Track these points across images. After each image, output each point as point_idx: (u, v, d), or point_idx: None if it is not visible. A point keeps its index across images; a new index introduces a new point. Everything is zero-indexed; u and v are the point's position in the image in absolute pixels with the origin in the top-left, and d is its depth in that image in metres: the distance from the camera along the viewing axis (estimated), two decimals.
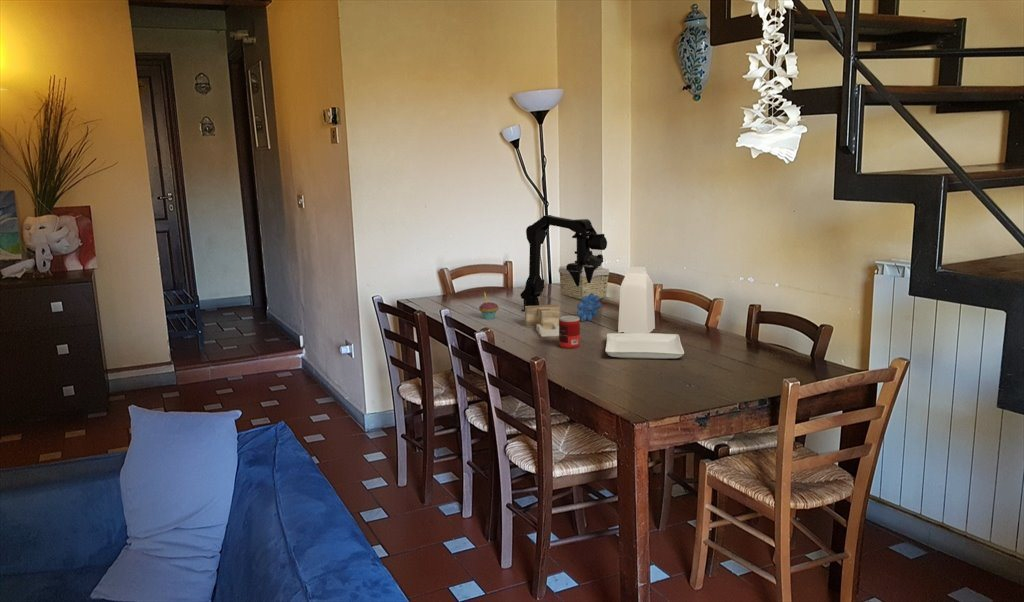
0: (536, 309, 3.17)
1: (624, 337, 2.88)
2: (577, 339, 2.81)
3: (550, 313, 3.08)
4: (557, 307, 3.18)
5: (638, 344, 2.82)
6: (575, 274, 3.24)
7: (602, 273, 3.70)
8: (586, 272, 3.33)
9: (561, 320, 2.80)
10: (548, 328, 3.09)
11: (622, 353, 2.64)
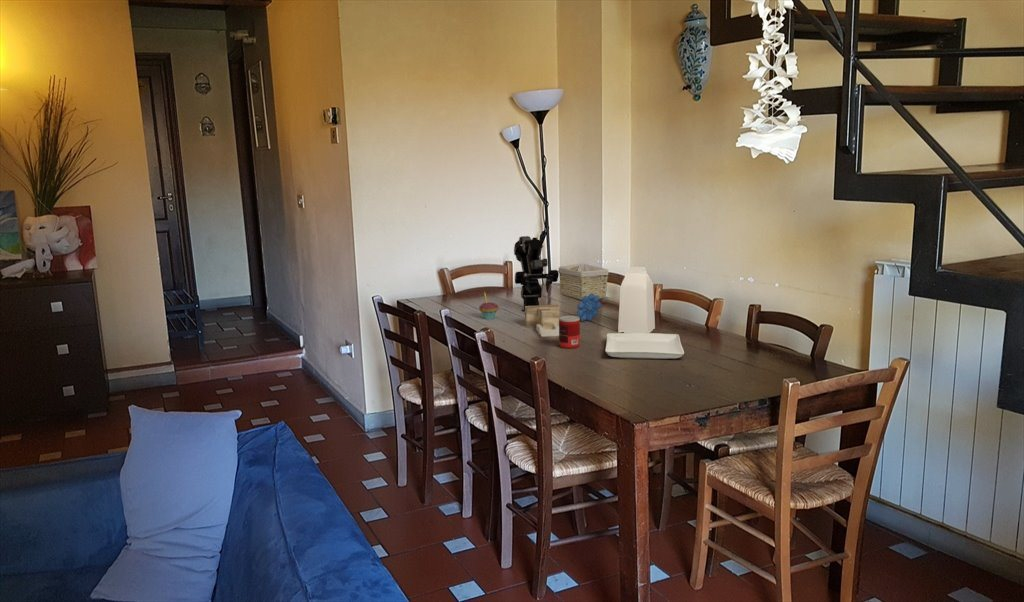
0: (536, 309, 3.17)
1: (624, 337, 2.88)
2: (577, 339, 2.81)
3: (550, 313, 3.08)
4: (557, 307, 3.18)
5: (638, 344, 2.82)
6: (526, 283, 3.28)
7: (601, 273, 3.70)
8: (546, 285, 3.29)
9: (561, 320, 2.80)
10: (548, 328, 3.09)
11: (622, 353, 2.64)
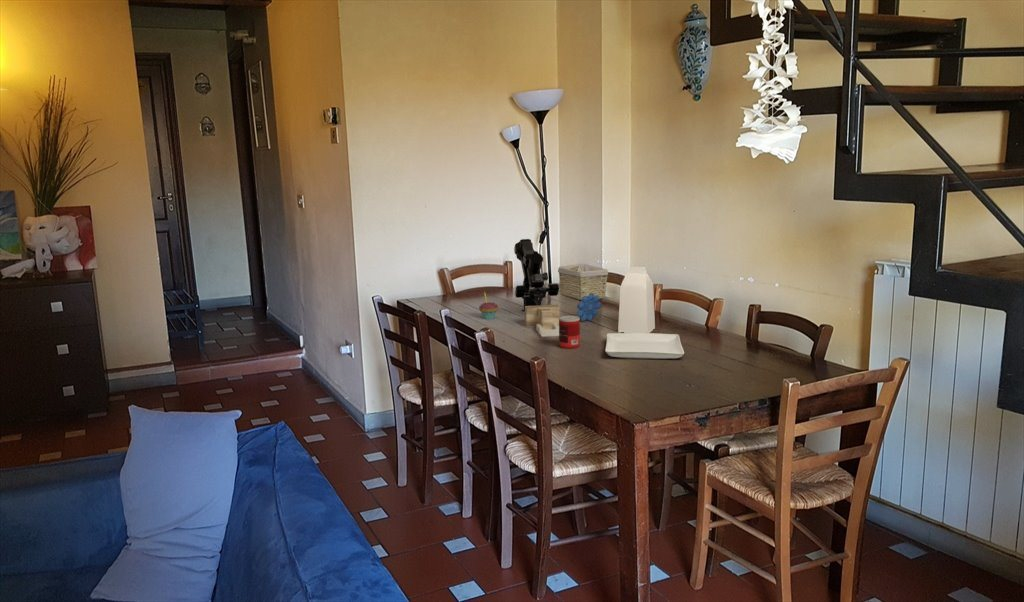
0: (536, 309, 3.17)
1: (624, 337, 2.88)
2: (577, 339, 2.81)
3: (550, 313, 3.08)
4: (557, 307, 3.18)
5: (638, 344, 2.82)
6: (534, 297, 3.28)
7: (601, 273, 3.69)
8: None
9: (561, 320, 2.80)
10: (548, 328, 3.09)
11: (622, 353, 2.64)
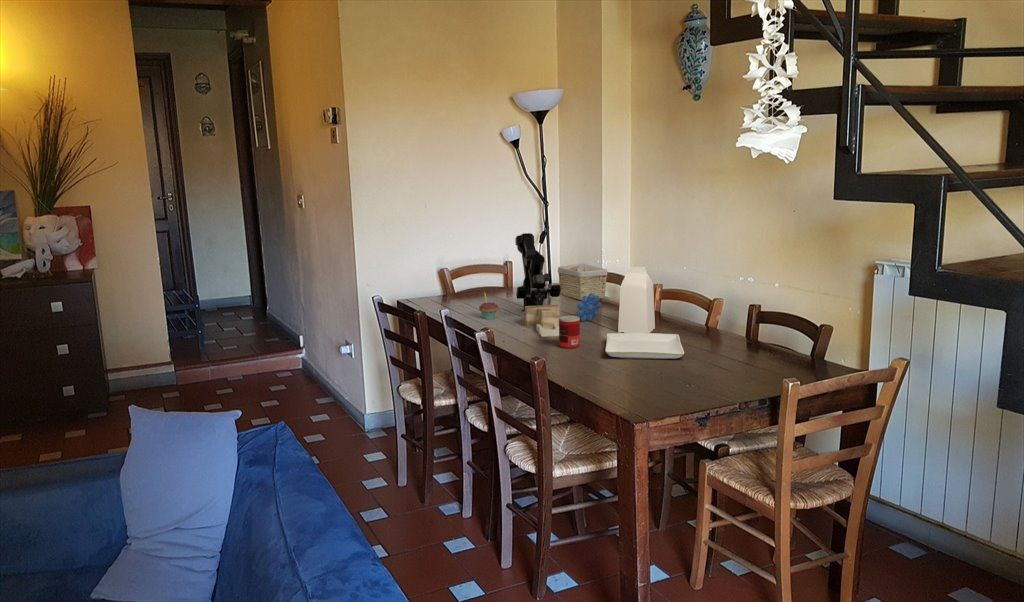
0: (536, 309, 3.17)
1: (624, 337, 2.88)
2: (577, 339, 2.81)
3: (550, 313, 3.08)
4: (557, 307, 3.18)
5: (638, 344, 2.82)
6: (536, 298, 3.24)
7: (600, 273, 3.69)
8: (540, 300, 3.25)
9: (561, 320, 2.80)
10: (548, 328, 3.09)
11: (622, 353, 2.64)
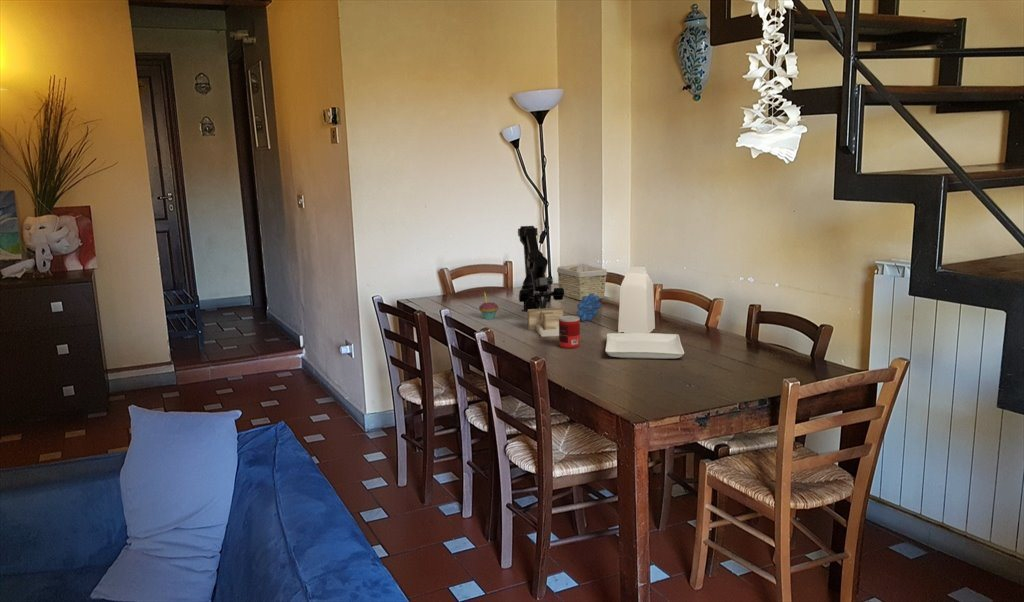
0: (539, 312, 3.10)
1: (624, 337, 2.88)
2: (577, 339, 2.81)
3: (553, 317, 3.01)
4: (560, 310, 3.11)
5: (638, 344, 2.82)
6: (539, 301, 3.18)
7: (600, 273, 3.69)
8: (543, 304, 3.18)
9: (561, 320, 2.80)
10: None
11: (622, 353, 2.64)
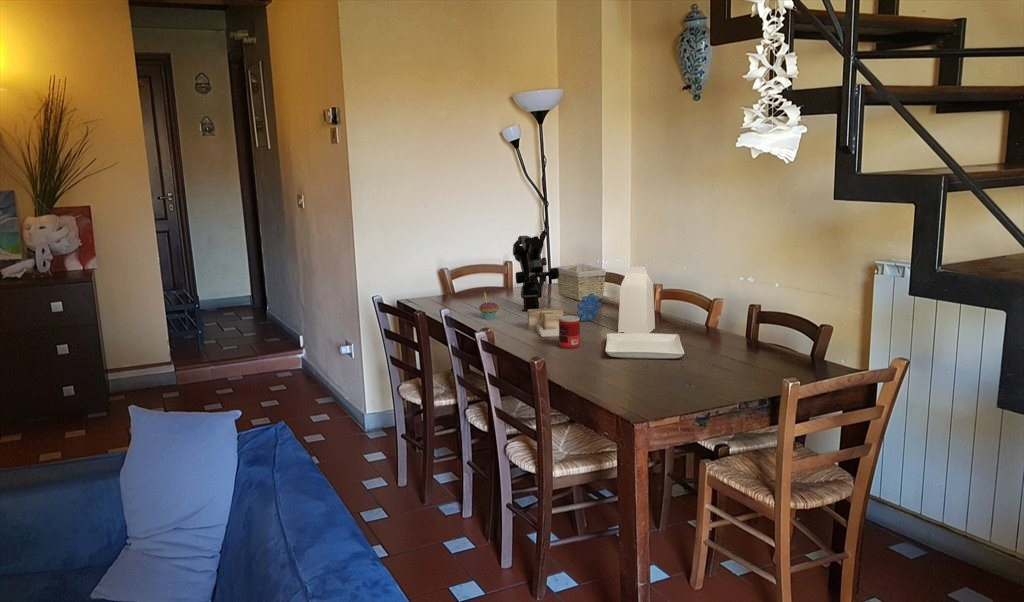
0: (539, 312, 3.10)
1: (624, 337, 2.88)
2: (577, 339, 2.81)
3: (553, 317, 3.01)
4: (560, 310, 3.11)
5: (638, 344, 2.82)
6: (535, 282, 3.29)
7: (598, 274, 3.69)
8: None
9: (561, 320, 2.80)
10: None
11: (622, 353, 2.64)
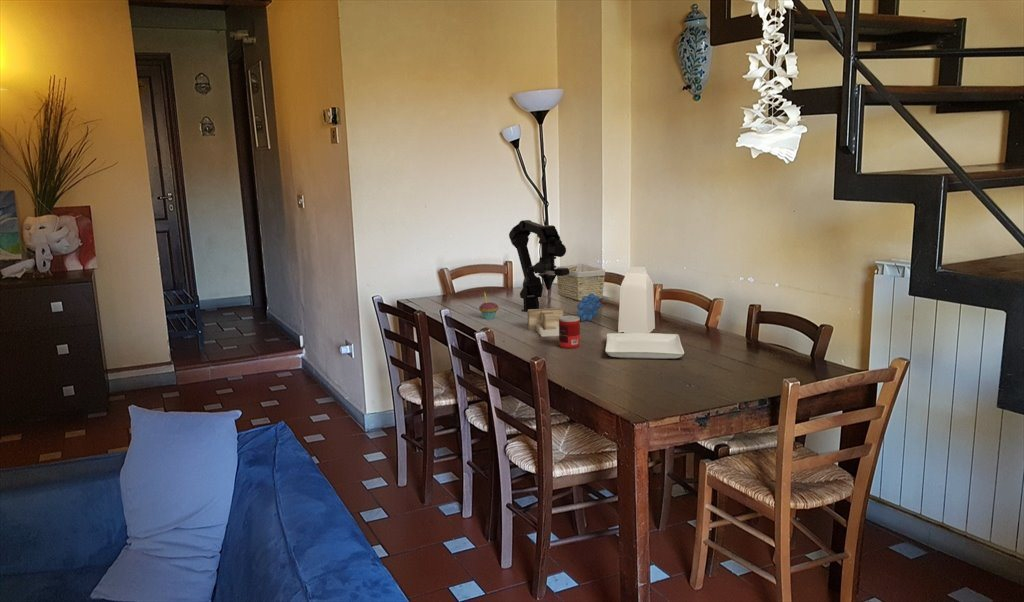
0: (539, 312, 3.10)
1: (624, 337, 2.88)
2: (577, 339, 2.81)
3: (553, 317, 3.01)
4: (560, 310, 3.11)
5: (638, 344, 2.82)
6: None
7: (598, 274, 3.68)
8: None
9: (561, 320, 2.80)
10: None
11: (622, 353, 2.64)
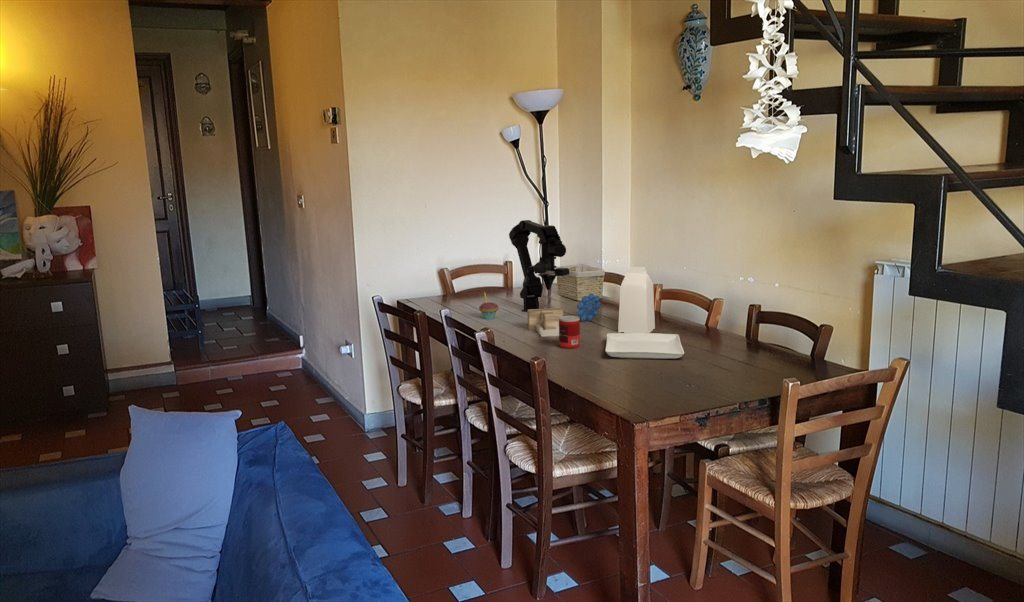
0: (539, 312, 3.10)
1: (624, 337, 2.88)
2: (577, 339, 2.81)
3: (553, 317, 3.01)
4: (560, 310, 3.11)
5: (638, 344, 2.82)
6: None
7: (597, 274, 3.68)
8: None
9: (561, 320, 2.80)
10: None
11: (622, 353, 2.64)
